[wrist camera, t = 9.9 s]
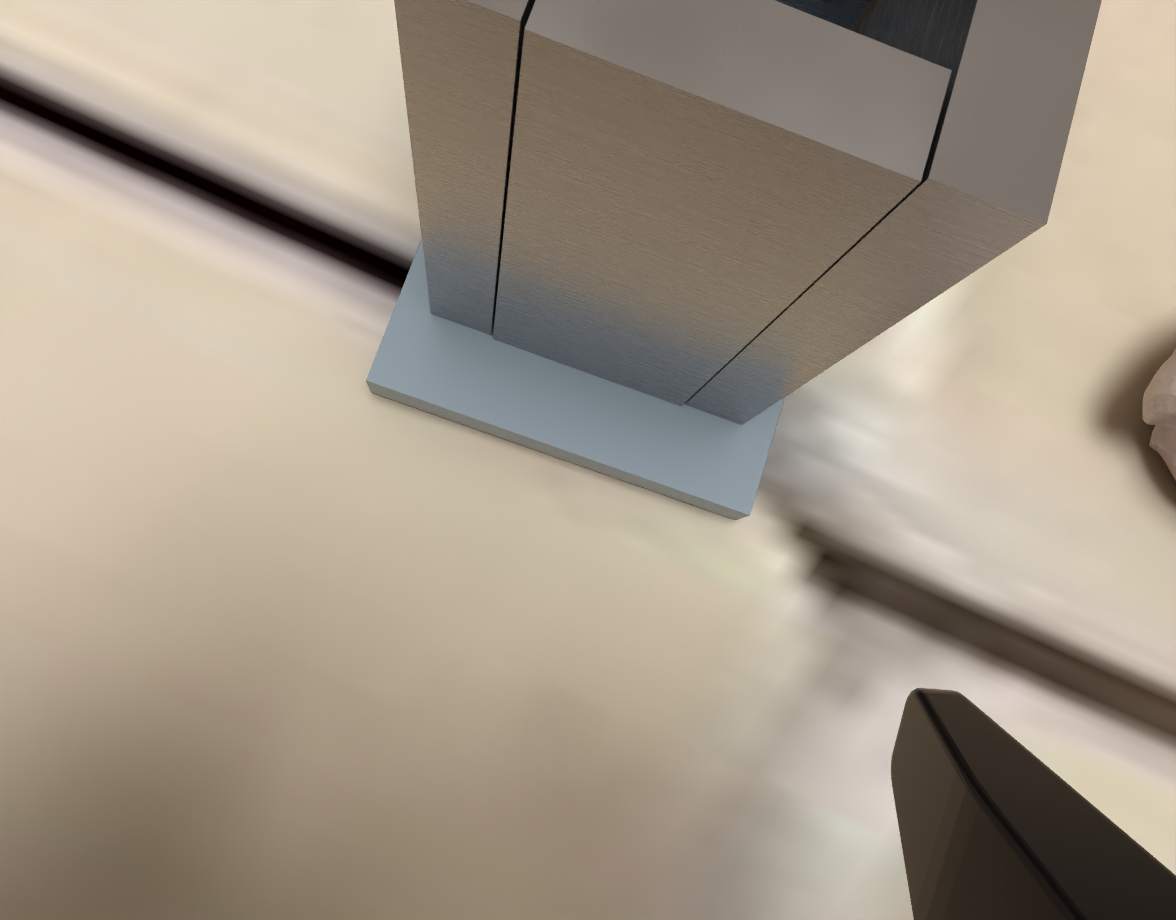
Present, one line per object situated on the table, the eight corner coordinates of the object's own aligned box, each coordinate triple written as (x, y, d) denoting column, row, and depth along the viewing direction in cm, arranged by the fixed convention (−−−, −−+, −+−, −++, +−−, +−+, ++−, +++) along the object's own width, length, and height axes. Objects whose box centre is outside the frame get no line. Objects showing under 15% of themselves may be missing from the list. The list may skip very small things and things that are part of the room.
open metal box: (740, 427, 19) (1044, 229, 9) (429, 316, 18) (388, -24, 8) (826, 145, 20) (1175, -302, 10) (537, 34, 19) (610, -547, 10)
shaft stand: (735, 520, 19) (814, 494, 15) (371, 392, 19) (342, 326, 14) (857, 112, 21) (958, -17, 17) (530, -15, 21) (547, -184, 16)
